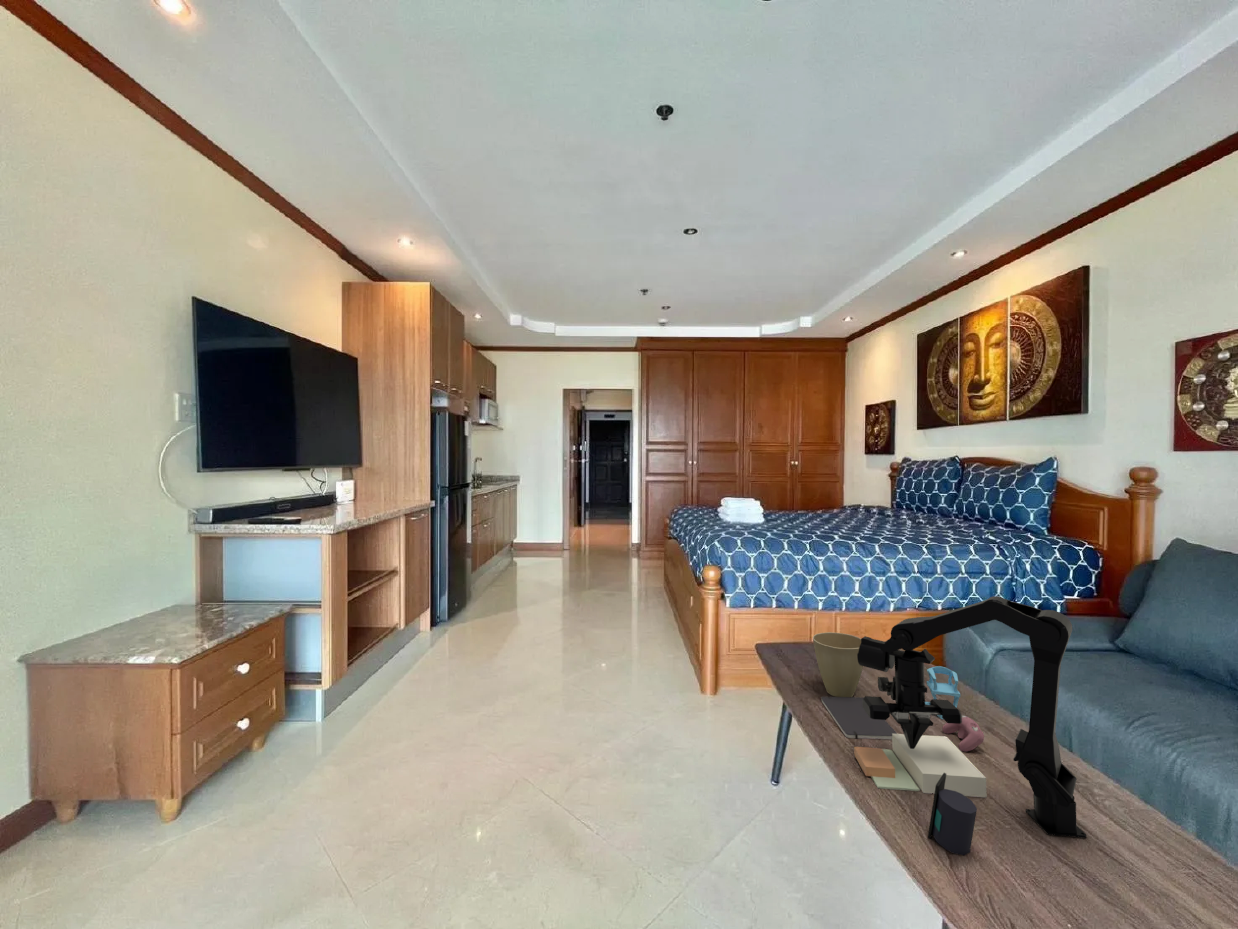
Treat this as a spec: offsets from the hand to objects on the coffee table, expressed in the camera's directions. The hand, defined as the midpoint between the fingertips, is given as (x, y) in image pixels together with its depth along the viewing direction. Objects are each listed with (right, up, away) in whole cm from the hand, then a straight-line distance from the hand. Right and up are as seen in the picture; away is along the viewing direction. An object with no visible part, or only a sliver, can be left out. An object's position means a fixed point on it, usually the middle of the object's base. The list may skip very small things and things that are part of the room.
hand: (911, 747), depth 111 cm
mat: (-6, -5, +1) cm, 8 cm away
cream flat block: (+5, -5, -1) cm, 7 cm away
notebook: (-1, -6, +24) cm, 24 cm away
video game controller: (+19, -5, +11) cm, 23 cm away
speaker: (-5, -5, -22) cm, 23 cm away
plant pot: (+2, -6, +39) cm, 39 cm away
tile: (-8, -3, +1) cm, 8 cm away
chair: (+24, -5, +26) cm, 36 cm away
